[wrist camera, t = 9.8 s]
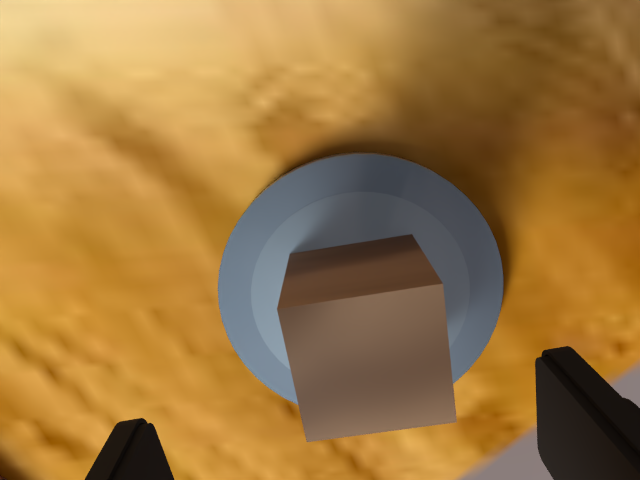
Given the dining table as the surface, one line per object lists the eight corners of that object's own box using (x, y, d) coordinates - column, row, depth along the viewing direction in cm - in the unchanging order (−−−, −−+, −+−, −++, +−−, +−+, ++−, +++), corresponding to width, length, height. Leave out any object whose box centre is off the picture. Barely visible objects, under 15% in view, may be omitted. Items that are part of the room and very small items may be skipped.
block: (289, 253, 18) (276, 308, 13) (411, 233, 18) (443, 283, 13) (311, 358, 20) (306, 442, 15) (424, 342, 19) (456, 422, 15)
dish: (193, 179, 19) (184, 185, 17) (483, 126, 18) (495, 129, 17) (257, 415, 22) (253, 433, 21) (500, 380, 21) (511, 397, 20)
